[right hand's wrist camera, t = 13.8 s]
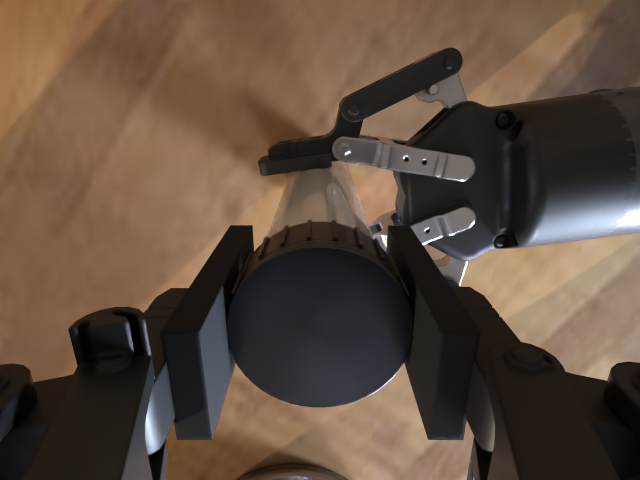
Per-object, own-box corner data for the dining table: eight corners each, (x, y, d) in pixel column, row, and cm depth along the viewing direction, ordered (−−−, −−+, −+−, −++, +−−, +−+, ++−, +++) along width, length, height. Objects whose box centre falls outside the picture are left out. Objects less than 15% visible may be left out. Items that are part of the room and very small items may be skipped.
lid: (404, 213, 11) (421, 238, 9) (400, 361, 13) (414, 406, 11) (227, 222, 11) (209, 247, 9) (247, 368, 13) (235, 413, 11)
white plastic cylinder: (353, 204, 28) (401, 373, 11) (294, 212, 28) (257, 388, 12) (346, 145, 27) (392, 237, 10) (285, 153, 27) (228, 256, 10)
